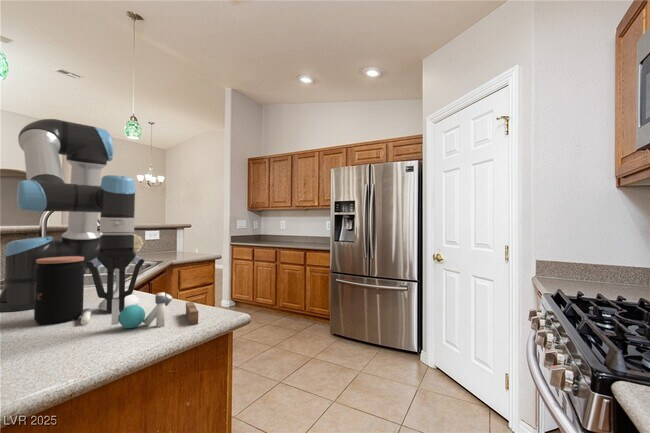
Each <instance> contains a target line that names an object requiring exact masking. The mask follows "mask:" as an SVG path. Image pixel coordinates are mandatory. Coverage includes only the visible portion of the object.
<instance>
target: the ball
mask: <svg viewBox="0 0 650 433" xmlns="http://www.w3.org/2000/svg"><path fill="white" fill-rule="evenodd" d="M145 318H146V311H145V309H144V308H143V307H142V306H140V305H139V304H138V305H131V306H128V307H126V308H124V309H123V310H120V312H119V324H120V325H121V326H122V327H123V328H125V329H134V328H137V327H138V326H140V325H142V323H143V321H144V319H145Z"/></svg>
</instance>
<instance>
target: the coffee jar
mask: <svg viewBox="0 0 650 433" xmlns="http://www.w3.org/2000/svg"><path fill="white" fill-rule="evenodd" d="M83 260H84V257H81V256H68V257H51V258H41V259H37V260H36V263H37V264H38V267H37V268H36V272H35V308H34V309H33V310H34V313H33V314H34V316H33V317H34V318H33V319H34V321H35V322H36V323H37V324H38V325H40V326H41V325H42V326H48V325H49V326H50V325H57V324H58V325H60V324H64V323H69V322H72V321H75V320H77V319H79V318H81V312H82V311H83V310H84V288H85V287H84V285H85V282H84V281H85V270H84V265H83V264H82V261H83Z"/></svg>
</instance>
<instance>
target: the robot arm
mask: <svg viewBox="0 0 650 433" xmlns="http://www.w3.org/2000/svg"><path fill="white" fill-rule="evenodd" d="M17 139H18V140H17V141H18V145H19V147H20V149H21V150H22V151H23V152H24V162H25V174H26V175H25V176H26V180H25V179H24V180H20V181H18V183H17V189H16V204H17V205H16V206H17V208H18V209H20V210H22V211H35V212H39V213H40V212H68V217H67V220H68V221H67V230H66V231H65V232H63V233H62V234H61V239H59V240H58V239H55V238H54V237H53V236H39V237H31V238H23V239H17V240H12V241H9V242H7V244H6V246H5V254H4V257H5V259H4V260H5V263H4V266H5V267H4V283H3V284H4V285H3V288H2V290H1V292H0V312H17V311H26V310H27V311H28V310H34V308H35V272H36V268H37V267H38V264H37V263H36V260H37V259H41V258H51V257H68V256H81V257H84V260H83V261H82V264H83V265H84V271H87V270H89V271H90V273H91V276H92V279H93V283H94V287H95V290H96V294H97V297H98V298H99V299H106V300H107V313H110V312H111V325H112V326H114V325H119V324H120V322H119V315H120V311H122V310H123V309H124V307H125V297H126V296H128V295H131V294H133V292H134V288H135V285H136V282H137V279H138V275H139V273H140V269H141V268H142V266H143V265H144V264H145V259H144V258H143V257H142V258H141V257H140V256H138V255H137V252H136V253H135V251H134V236H133V235H132V234H133V233H134V232H135V219H136V218H135V212H136V211H135V207H136V191H137V190H136V184H135V183H136V182H135V179H134V178H132V177H130V176H125V175H115V174H114V175H111V174H110V175H109V174H108V175H103V176H102V170H103V169H104V168H105V167H107V165H108V164H107V162H111V161H112V160H113V158H114V142H113V138H112V136H111V133H110V132H109V131H108V130H107V129H104V128H101V127H96V126H92V125H87V124H81V123H76V122H71V121H67V120H60V119H56V118H43V119H39V120H38V119H37V120H35V121H32V122H30V123H28V124H27V125H25V126H24V127H23V128H22V129H21V130H20V131H19V134H18V138H17ZM60 155H62V156H66V158H65V159H66V162H67V163H68V164H69V165H70V167H71V170H70V183H66V180H65V176H64V172H63V168H62V163H61V160H60ZM99 213H100V217H99ZM99 219H100V220H99ZM98 220H99V232H98ZM133 259H134V260H135V262H134V263H133V264H134V265H135V266H134V269H133V272H132V274H131V279H130V282H129V285H128V288H127V289H126V274H125V270H126V267H127V266H129V265H130V264H132V263H131V262H132V260H133ZM101 265H102V266H103V267H104V268H105V269H106V276H107V277H106V291H105V287H104V285H103V280H102V278H101V275H100V274H101V273H100V271H99V267H101ZM114 269H119V297H114V298H113V292H114V281H115V279H114V278H115V272H114ZM125 289H126V290H127V291H125Z"/></svg>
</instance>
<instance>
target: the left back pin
mask: <svg viewBox="0 0 650 433" xmlns="http://www.w3.org/2000/svg"><path fill="white" fill-rule="evenodd" d="M92 315H93V310H92V309H91V308H89V307H88V308H83V311H82V312H81V316H80V324H81V325H82V326H86V325H89V324H90V322H91V317H92Z"/></svg>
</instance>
